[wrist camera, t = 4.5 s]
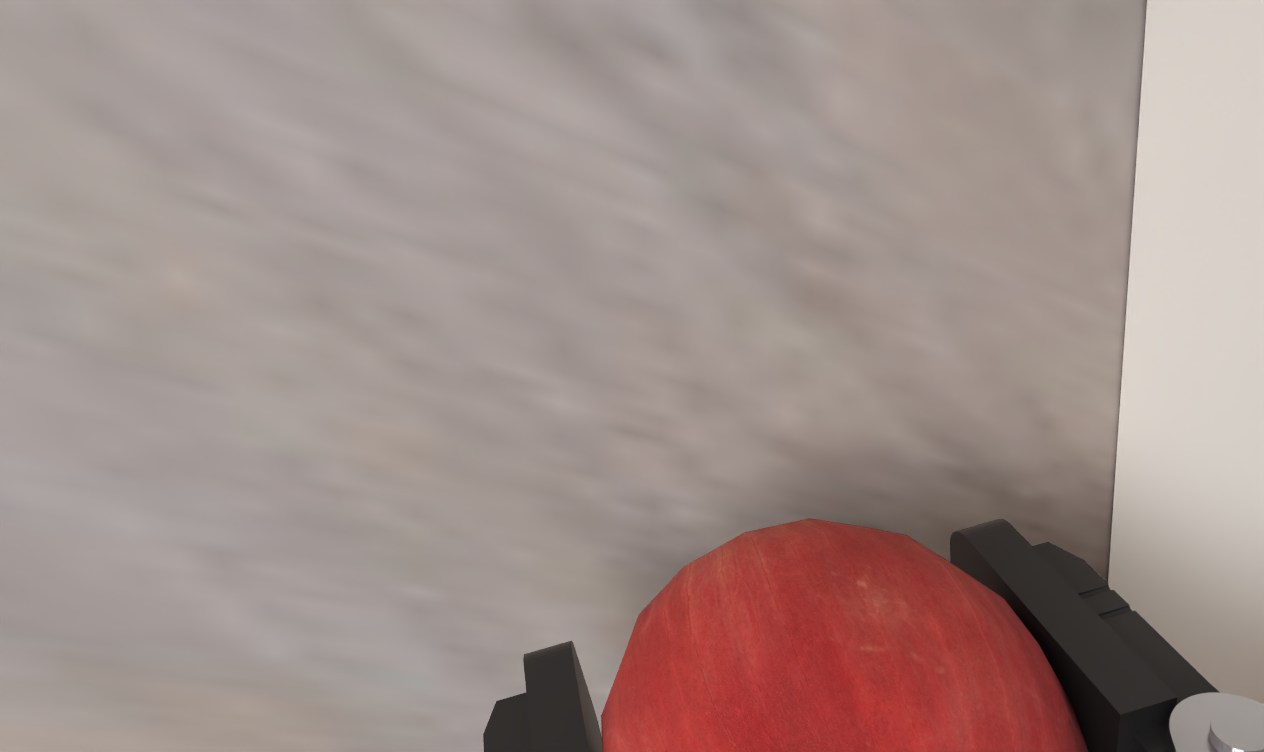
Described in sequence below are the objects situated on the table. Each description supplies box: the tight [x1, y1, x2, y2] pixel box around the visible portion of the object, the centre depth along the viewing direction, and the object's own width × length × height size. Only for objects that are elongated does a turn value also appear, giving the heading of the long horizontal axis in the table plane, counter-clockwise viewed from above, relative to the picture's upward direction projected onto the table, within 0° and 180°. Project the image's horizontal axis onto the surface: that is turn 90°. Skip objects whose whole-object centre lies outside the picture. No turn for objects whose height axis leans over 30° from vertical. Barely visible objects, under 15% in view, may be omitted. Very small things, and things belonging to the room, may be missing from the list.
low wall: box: [1108, 0, 1264, 704], centre depth 16 cm, size 26×2×4 cm, turn 12°
